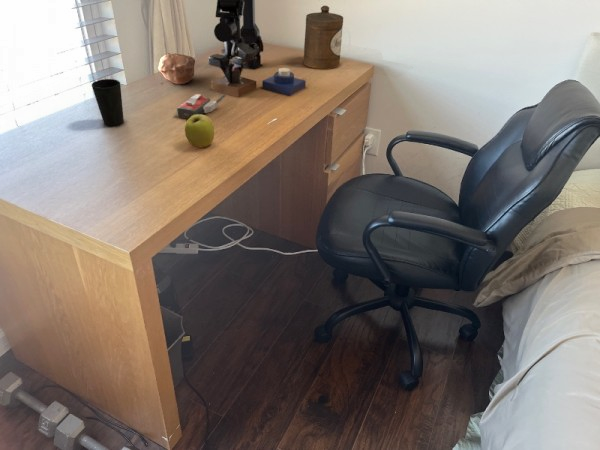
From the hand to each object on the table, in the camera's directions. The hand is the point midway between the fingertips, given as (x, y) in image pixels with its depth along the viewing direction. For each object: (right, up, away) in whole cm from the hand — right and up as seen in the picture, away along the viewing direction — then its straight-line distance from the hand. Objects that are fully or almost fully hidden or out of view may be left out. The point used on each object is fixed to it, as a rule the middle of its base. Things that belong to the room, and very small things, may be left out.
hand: (234, 80), depth 166 cm
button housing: (+17, -1, +5) cm, 18 cm away
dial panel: (0, -2, +2) cm, 3 cm away
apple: (-5, -28, -33) cm, 44 cm away
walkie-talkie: (-9, -13, -13) cm, 20 cm away
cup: (-33, -20, -24) cm, 45 cm away
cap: (+17, +2, +2) cm, 18 cm away
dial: (0, 0, 0) cm, 0 cm away
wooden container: (+32, +16, +29) cm, 46 cm away
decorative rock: (-21, +2, +7) cm, 22 cm away
